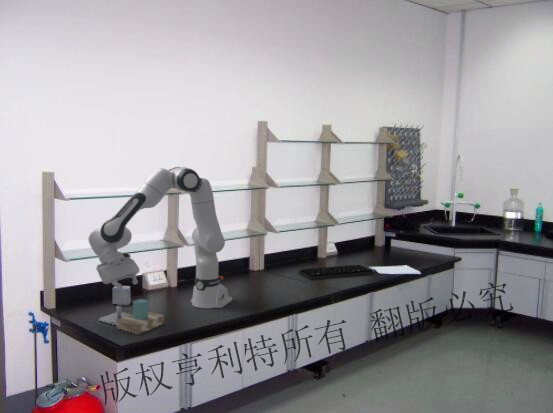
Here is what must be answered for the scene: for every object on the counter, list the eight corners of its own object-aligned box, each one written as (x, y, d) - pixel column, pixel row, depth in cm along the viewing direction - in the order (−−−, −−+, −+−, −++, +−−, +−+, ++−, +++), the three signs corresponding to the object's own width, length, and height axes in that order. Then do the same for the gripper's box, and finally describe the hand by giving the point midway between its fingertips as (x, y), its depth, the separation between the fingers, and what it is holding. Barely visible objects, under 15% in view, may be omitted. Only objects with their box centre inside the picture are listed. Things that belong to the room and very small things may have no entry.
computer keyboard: (310, 281, 332) (310, 275, 332) (298, 274, 347) (298, 268, 346) (373, 275, 351) (374, 269, 351) (359, 269, 365) (360, 264, 365)
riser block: (142, 318, 255) (142, 310, 255) (163, 324, 250) (163, 315, 249) (117, 328, 241) (117, 320, 241) (138, 334, 236) (138, 325, 235)
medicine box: (130, 302, 277) (130, 285, 276) (128, 305, 273) (128, 288, 272) (114, 302, 277) (114, 285, 276) (112, 305, 273) (112, 288, 271)
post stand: (118, 314, 260) (118, 300, 259) (138, 319, 254) (138, 305, 253) (99, 321, 249) (99, 307, 248) (118, 327, 244) (118, 312, 243)
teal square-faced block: (140, 315, 248) (140, 298, 247) (148, 317, 246) (148, 300, 245) (133, 318, 244) (133, 301, 243) (140, 320, 242) (141, 303, 241)
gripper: (98, 261, 239) (115, 287, 236) (131, 253, 257) (148, 276, 254) (90, 269, 242) (107, 295, 239) (124, 261, 260) (140, 284, 257)
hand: (128, 285), depth 246 cm, fingers open, 8 cm apart
